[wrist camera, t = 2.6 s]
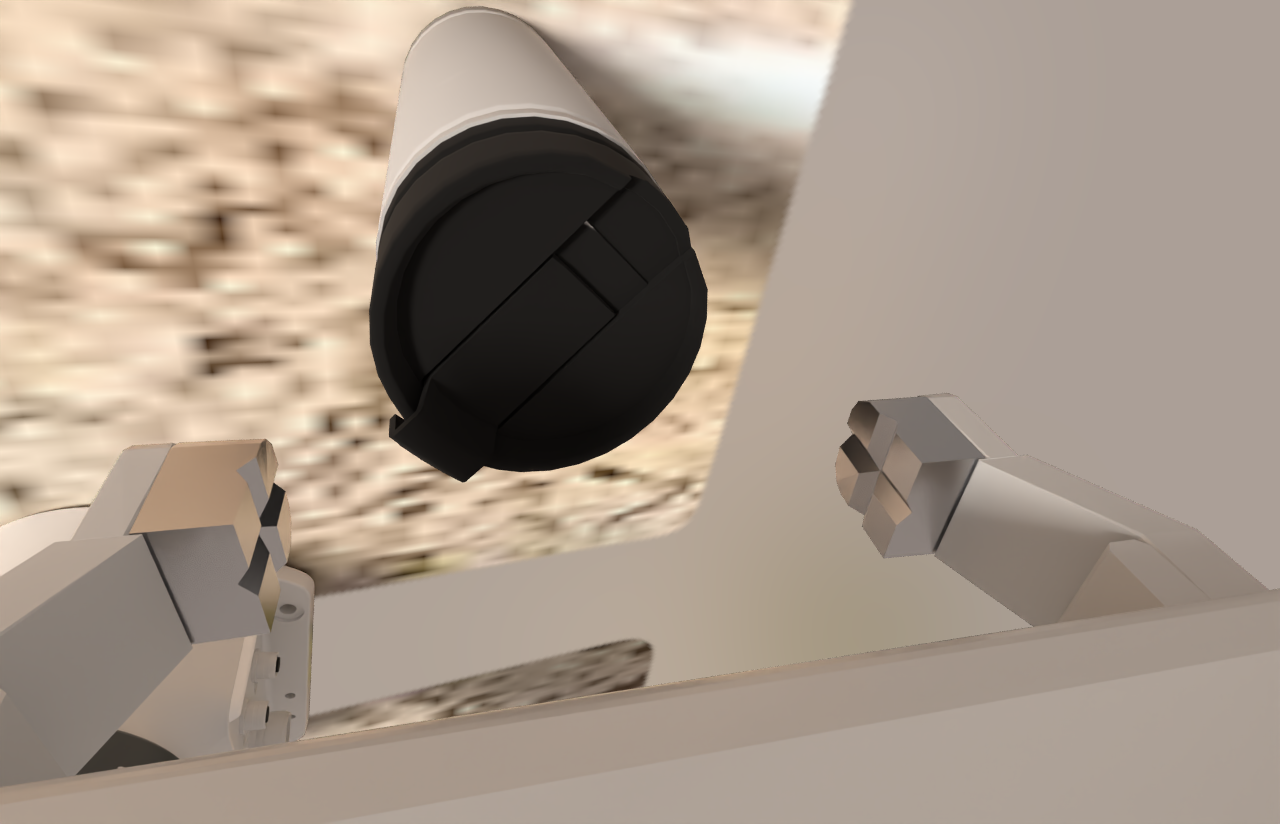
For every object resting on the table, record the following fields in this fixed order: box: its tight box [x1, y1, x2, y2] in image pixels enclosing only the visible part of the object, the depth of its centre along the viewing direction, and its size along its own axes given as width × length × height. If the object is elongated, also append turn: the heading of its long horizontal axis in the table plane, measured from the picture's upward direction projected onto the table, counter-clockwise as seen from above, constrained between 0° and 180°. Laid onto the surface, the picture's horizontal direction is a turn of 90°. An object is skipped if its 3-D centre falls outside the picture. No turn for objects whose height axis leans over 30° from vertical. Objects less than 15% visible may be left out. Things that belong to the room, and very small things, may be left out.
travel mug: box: [369, 7, 708, 482], centre depth 20 cm, size 6×7×20 cm
